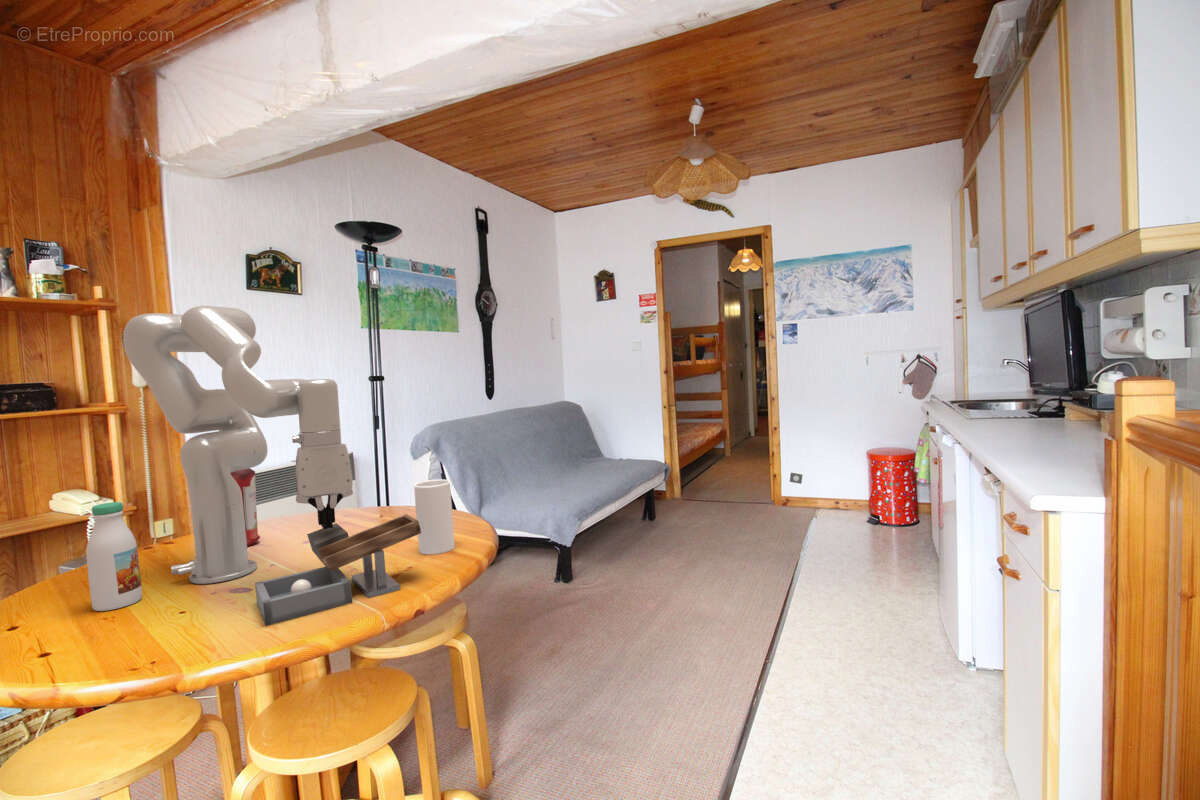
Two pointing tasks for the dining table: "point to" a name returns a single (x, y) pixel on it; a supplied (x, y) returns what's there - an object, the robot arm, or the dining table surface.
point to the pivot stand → (375, 577)
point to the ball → (300, 586)
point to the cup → (434, 516)
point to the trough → (359, 541)
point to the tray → (302, 594)
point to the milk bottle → (112, 560)
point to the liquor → (248, 502)
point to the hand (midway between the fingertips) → (327, 527)
